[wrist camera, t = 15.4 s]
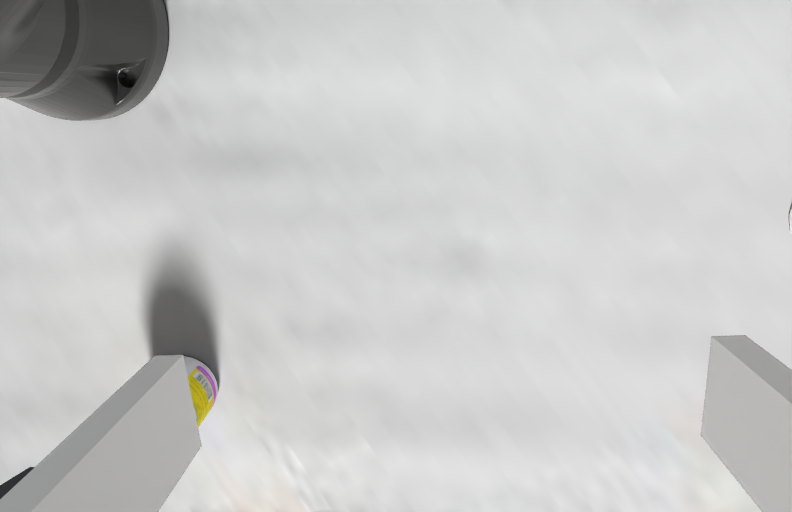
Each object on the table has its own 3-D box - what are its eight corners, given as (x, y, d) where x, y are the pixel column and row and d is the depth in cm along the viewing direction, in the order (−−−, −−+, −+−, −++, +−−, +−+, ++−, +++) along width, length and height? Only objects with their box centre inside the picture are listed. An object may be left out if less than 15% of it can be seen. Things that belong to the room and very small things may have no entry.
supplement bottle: (146, 397, 52) (59, 488, 40) (165, 342, 50) (79, 421, 38) (209, 423, 53) (141, 521, 40) (229, 370, 51) (166, 456, 39)
